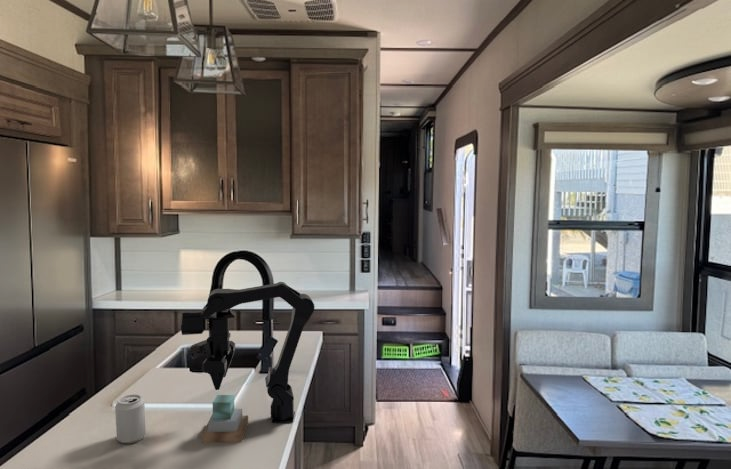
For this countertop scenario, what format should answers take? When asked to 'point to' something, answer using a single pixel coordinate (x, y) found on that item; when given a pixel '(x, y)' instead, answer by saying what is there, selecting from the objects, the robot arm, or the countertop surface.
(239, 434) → the walnut slab
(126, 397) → the can
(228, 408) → the teal block
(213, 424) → the grey block
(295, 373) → the countertop surface
